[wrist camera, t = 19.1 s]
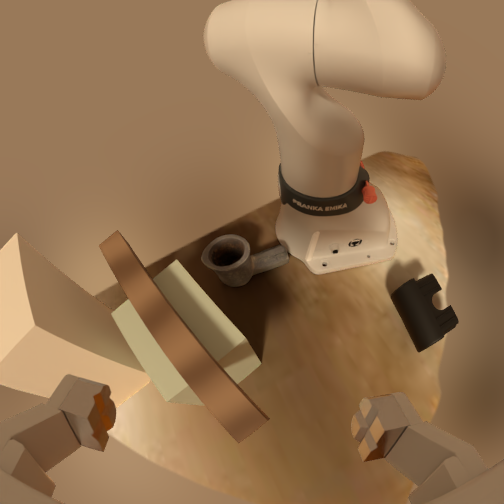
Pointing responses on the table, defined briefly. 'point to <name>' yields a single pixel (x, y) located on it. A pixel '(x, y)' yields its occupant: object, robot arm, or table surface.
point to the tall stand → (58, 330)
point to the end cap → (423, 312)
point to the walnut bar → (182, 344)
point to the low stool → (202, 325)
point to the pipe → (240, 259)
